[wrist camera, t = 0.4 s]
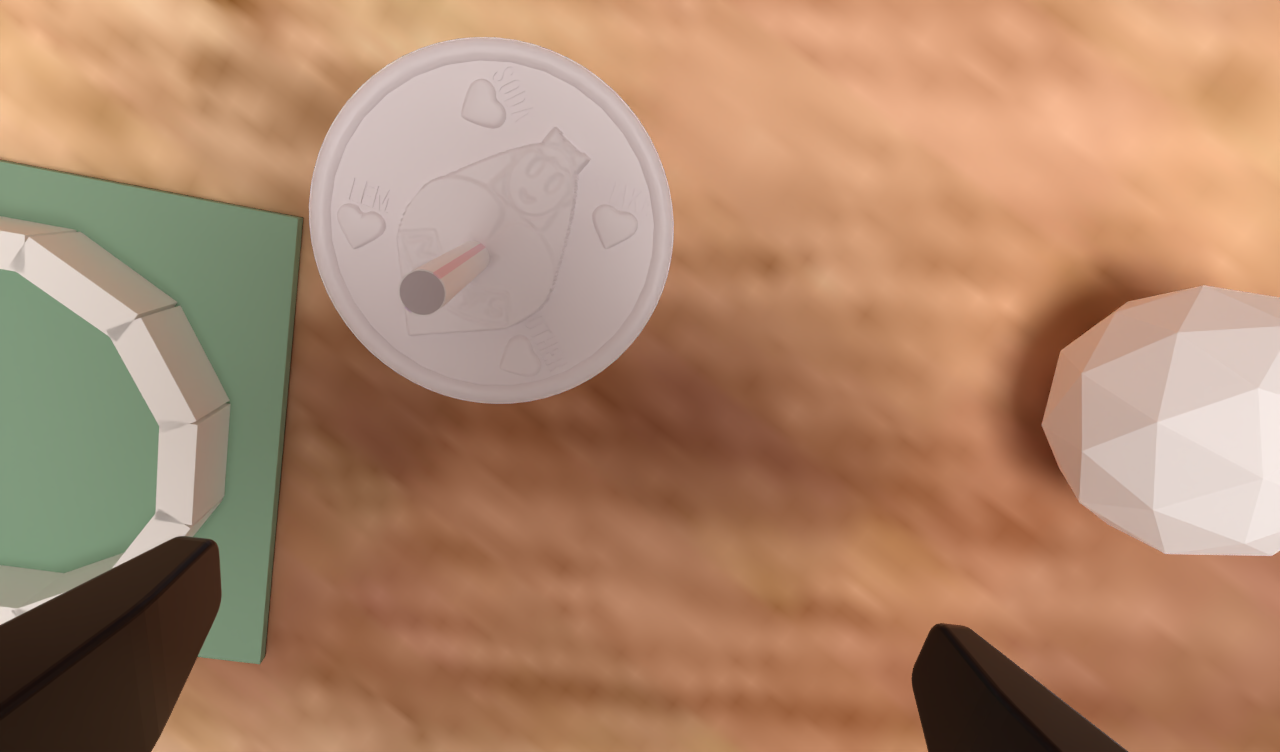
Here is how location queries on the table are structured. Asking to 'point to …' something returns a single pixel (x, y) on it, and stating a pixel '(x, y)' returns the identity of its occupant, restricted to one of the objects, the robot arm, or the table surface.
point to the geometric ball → (1176, 421)
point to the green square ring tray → (141, 387)
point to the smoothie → (491, 220)
